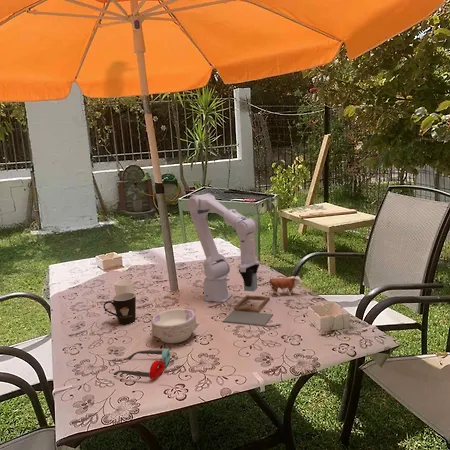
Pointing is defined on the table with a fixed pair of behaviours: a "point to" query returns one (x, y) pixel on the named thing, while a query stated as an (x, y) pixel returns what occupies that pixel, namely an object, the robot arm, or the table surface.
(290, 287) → the bull figurine
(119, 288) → the white cup
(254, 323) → the rubber mat
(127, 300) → the coffee mug
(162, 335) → the white round bowl
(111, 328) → the table surface
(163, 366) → the novelty glasses
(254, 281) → the blue block
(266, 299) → the pocket frame
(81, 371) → the table surface
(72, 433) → the table surface
